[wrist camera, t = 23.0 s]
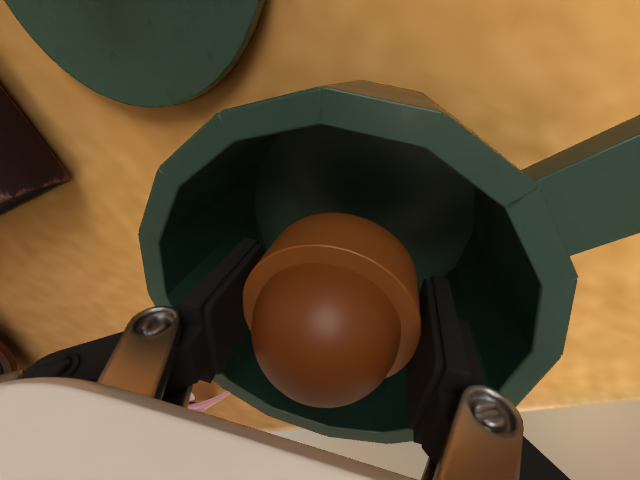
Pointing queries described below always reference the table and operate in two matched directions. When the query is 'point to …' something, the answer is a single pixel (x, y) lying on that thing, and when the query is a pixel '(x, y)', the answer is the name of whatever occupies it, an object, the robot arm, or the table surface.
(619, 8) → the table surface
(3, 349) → the alarm clock
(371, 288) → the brown domed piece
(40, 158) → the diary
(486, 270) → the pot
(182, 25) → the pot lid
